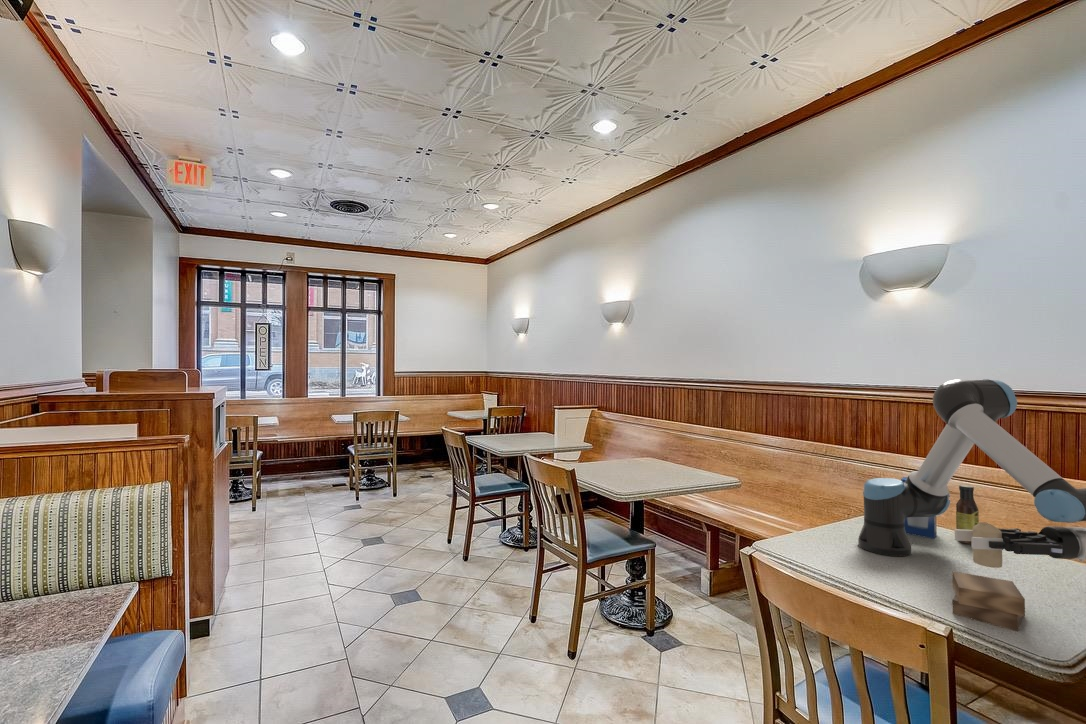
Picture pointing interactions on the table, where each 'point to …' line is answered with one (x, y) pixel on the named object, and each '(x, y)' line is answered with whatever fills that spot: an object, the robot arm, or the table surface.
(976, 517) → the sauce bottle
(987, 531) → the candle
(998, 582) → the tower top
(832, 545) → the table surface
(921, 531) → the milk carton
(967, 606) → the tower base
